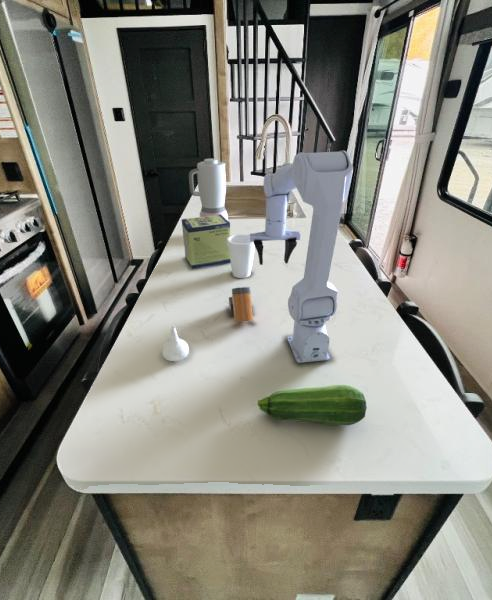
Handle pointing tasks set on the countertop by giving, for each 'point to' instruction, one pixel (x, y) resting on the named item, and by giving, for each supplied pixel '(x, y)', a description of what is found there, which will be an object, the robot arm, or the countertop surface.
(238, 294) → the orange and grey block
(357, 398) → the vegetable
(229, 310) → the prop block
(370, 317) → the countertop surface
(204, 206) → the blender
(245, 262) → the foam cup
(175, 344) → the garlic bulb
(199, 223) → the protein box
